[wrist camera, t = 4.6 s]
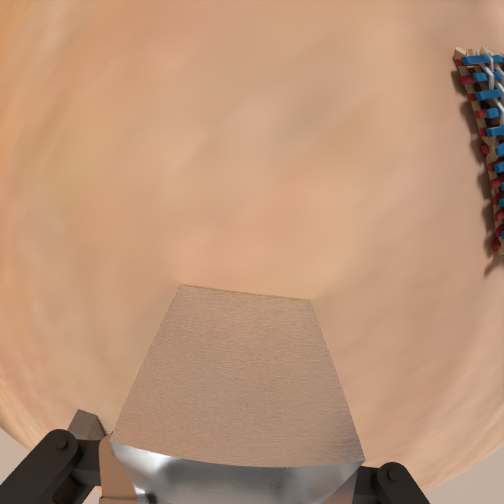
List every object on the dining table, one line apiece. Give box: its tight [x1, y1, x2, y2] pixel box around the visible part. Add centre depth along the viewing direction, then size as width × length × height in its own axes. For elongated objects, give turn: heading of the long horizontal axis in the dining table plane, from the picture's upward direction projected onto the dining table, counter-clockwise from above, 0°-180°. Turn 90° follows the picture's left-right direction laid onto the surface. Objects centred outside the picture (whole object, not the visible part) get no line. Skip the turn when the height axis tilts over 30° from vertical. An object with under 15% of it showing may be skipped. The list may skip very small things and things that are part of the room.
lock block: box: [110, 285, 365, 504], centre depth 9 cm, size 5×8×7 cm, turn 172°
